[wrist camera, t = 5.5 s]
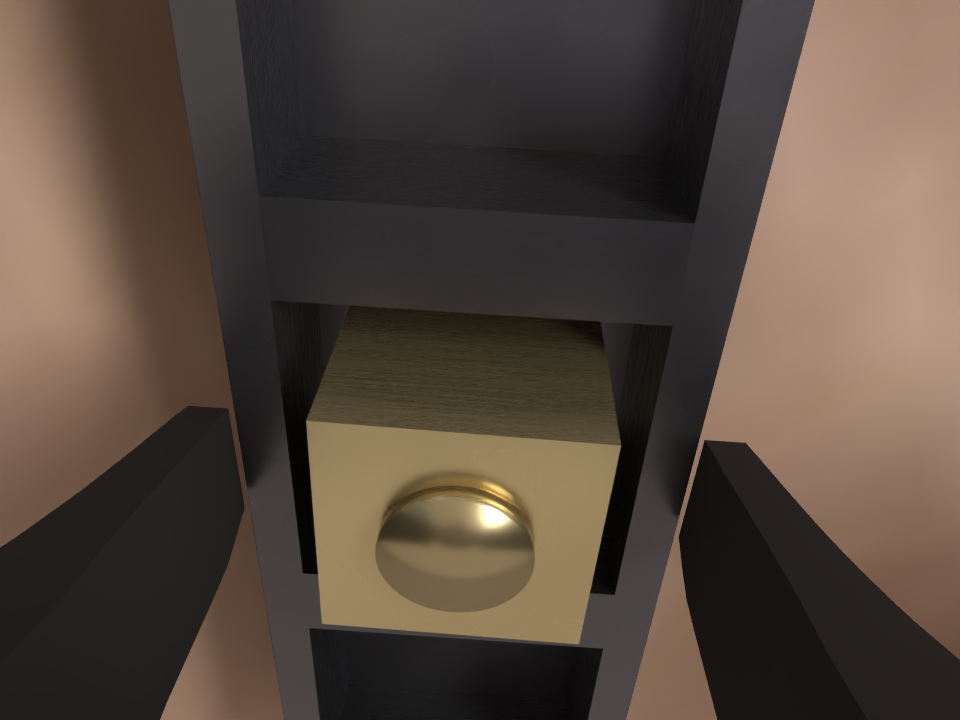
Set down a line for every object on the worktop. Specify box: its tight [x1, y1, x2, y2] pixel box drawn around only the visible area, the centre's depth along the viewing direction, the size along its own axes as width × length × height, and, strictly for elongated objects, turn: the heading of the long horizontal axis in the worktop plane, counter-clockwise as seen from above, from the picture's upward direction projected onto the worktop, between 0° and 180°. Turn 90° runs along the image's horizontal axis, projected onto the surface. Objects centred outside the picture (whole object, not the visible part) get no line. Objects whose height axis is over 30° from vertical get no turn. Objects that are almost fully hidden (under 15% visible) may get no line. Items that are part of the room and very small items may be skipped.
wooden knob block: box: [306, 305, 621, 644], centre depth 12 cm, size 4×4×4 cm
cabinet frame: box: [168, 0, 815, 720], centre depth 13 cm, size 7×22×3 cm, turn 177°
